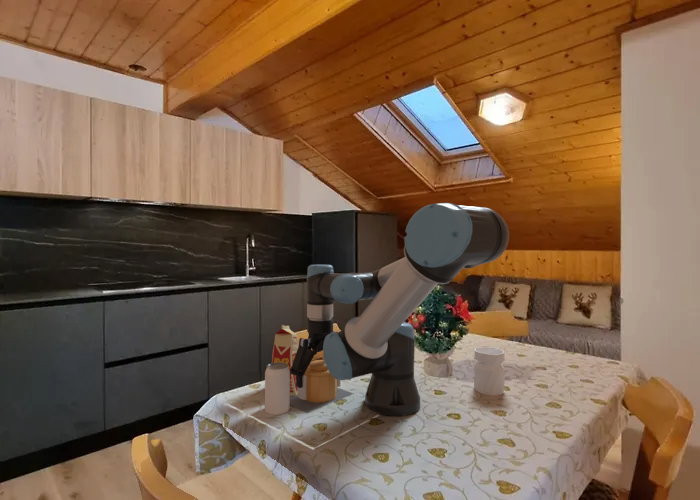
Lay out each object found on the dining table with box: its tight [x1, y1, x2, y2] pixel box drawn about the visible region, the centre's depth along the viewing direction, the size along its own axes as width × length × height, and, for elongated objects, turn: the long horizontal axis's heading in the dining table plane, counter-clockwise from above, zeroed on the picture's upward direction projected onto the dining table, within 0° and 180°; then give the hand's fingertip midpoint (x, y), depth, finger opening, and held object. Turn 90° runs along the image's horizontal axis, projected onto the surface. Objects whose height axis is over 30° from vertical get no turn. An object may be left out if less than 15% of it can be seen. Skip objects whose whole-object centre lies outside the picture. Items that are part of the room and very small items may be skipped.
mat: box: [290, 387, 354, 414], centre depth 113 cm, size 12×18×1 cm, turn 138°
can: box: [264, 362, 291, 415], centre depth 104 cm, size 6×6×12 cm
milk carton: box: [271, 324, 299, 396], centre depth 119 cm, size 9×9×20 cm
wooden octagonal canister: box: [304, 359, 338, 403], centre depth 114 cm, size 10×10×9 cm
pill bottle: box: [473, 346, 505, 396], centre depth 120 cm, size 9×9×12 cm
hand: (319, 391), depth 114 cm, fingers open, 13 cm apart
